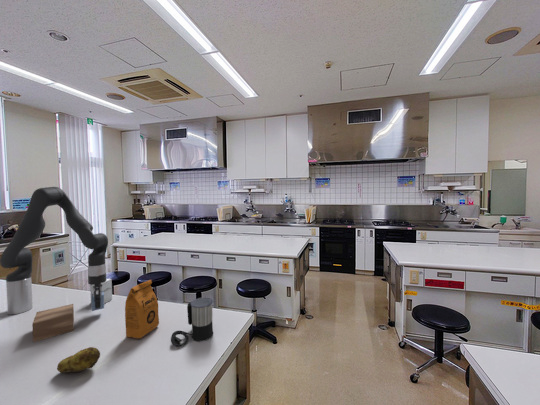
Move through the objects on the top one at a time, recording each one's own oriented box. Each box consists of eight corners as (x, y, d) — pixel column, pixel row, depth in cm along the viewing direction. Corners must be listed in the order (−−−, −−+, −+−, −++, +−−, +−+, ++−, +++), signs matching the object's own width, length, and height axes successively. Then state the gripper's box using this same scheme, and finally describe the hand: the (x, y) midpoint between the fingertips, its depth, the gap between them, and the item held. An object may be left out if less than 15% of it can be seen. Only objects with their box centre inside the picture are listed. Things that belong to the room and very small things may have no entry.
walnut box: (37, 329, 109) (36, 312, 109) (73, 319, 118) (73, 303, 117) (33, 342, 99) (32, 323, 99) (73, 331, 107) (72, 313, 107)
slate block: (92, 307, 121) (91, 293, 121) (104, 304, 124) (103, 291, 124) (91, 311, 117) (91, 297, 117) (104, 308, 120) (103, 294, 120)
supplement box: (101, 305, 132) (100, 283, 131) (90, 304, 133) (89, 282, 133) (112, 299, 139) (112, 278, 139) (102, 299, 140) (101, 278, 140)
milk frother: (217, 331, 105) (217, 298, 105) (195, 354, 90) (194, 315, 90) (191, 326, 110) (190, 294, 109) (165, 346, 95) (164, 310, 95)
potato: (80, 359, 88) (79, 338, 88) (105, 367, 84) (104, 345, 84) (53, 375, 80) (52, 352, 80) (79, 385, 76) (78, 360, 76)
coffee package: (162, 326, 110) (161, 279, 109) (139, 342, 98) (138, 290, 97) (146, 322, 113) (145, 277, 112) (122, 337, 101) (120, 287, 101)
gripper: (88, 270, 124) (89, 302, 125) (86, 278, 112) (87, 313, 113) (106, 268, 128) (106, 299, 129) (106, 275, 116) (106, 309, 117)
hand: (98, 305), depth 121 cm, fingers closed on slate block, 5 cm apart
